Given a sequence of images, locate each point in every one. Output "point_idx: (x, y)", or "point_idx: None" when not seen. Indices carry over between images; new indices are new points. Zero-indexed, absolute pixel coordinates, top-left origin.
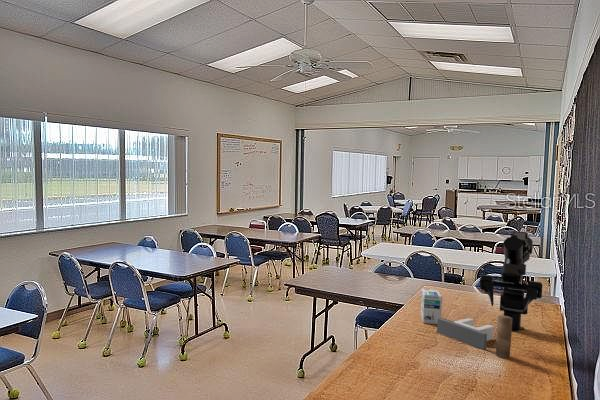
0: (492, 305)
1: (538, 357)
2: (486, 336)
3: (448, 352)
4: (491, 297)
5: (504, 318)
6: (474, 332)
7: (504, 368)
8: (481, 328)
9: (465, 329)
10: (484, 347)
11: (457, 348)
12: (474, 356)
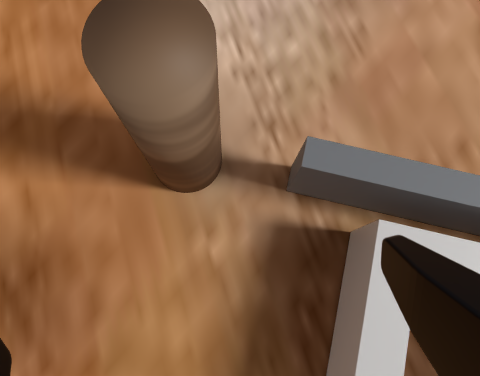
0: (384, 250)
1: (29, 290)
2: (298, 166)
3: (390, 8)
4: (477, 285)
5: (146, 2)
6: (377, 155)
7: None
8: (386, 282)
9: (446, 171)
10: (291, 172)
11: (389, 87)
12: (285, 49)
